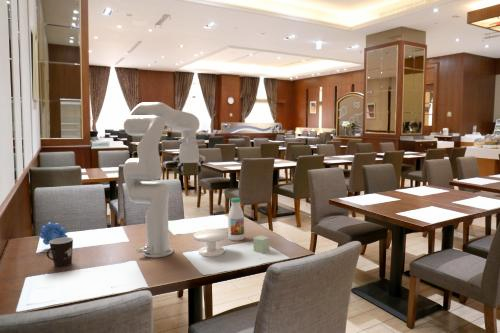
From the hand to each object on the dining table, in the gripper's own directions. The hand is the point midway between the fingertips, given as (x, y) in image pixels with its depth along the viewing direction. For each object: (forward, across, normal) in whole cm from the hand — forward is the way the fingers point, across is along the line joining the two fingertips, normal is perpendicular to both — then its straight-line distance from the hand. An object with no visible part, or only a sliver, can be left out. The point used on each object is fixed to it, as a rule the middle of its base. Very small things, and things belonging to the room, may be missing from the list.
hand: (189, 173), depth 204 cm
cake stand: (+30, +11, -40) cm, 51 cm away
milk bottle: (+30, +23, -22) cm, 44 cm away
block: (+30, +33, -41) cm, 60 cm away
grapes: (+30, -61, -24) cm, 73 cm away
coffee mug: (+31, -50, -47) cm, 75 cm away
